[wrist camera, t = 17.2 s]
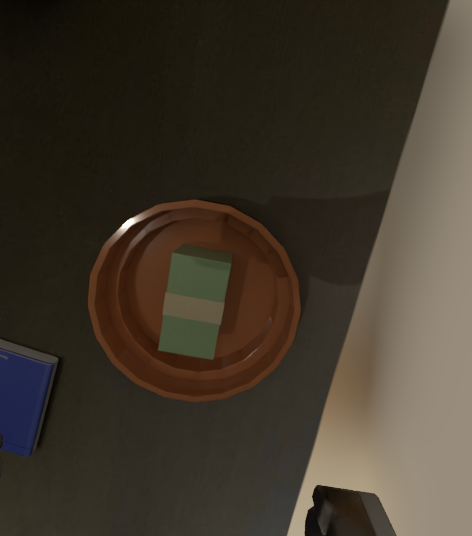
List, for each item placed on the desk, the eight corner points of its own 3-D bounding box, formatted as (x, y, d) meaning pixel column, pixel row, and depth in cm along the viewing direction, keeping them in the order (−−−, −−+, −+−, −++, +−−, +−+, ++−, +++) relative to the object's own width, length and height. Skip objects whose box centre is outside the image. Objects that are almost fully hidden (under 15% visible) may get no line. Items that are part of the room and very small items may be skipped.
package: (233, 253, 30) (232, 263, 25) (217, 335, 32) (213, 360, 27) (182, 243, 30) (171, 252, 25) (169, 327, 32) (156, 350, 27)
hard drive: (-27, 340, 31) (-44, 437, 34) (51, 365, 32) (28, 458, 34) (-15, 334, 33) (-32, 426, 35) (60, 357, 33) (37, 447, 36)
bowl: (307, 219, 30) (323, 224, 25) (269, 381, 34) (275, 416, 28) (123, 184, 29) (97, 180, 24) (106, 353, 33) (80, 383, 28)
